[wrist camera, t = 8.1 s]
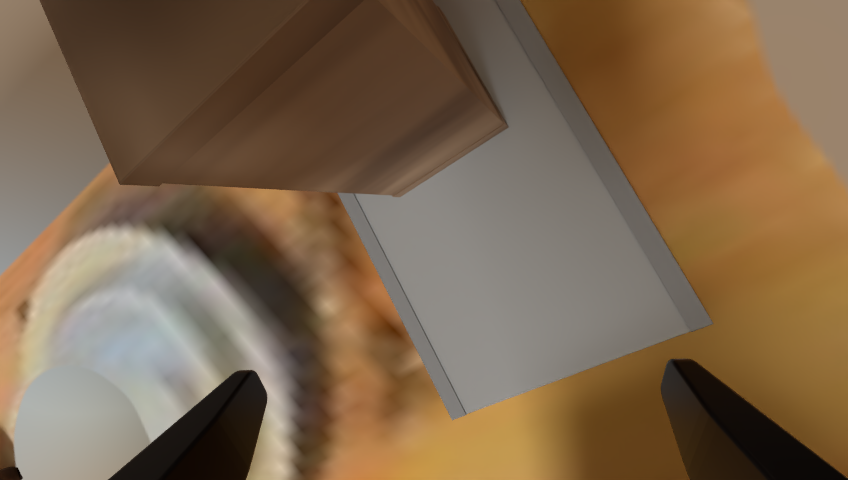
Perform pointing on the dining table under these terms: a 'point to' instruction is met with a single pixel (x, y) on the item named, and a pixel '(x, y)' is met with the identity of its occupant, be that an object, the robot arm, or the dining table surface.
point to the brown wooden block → (275, 91)
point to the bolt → (10, 474)
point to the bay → (523, 236)
